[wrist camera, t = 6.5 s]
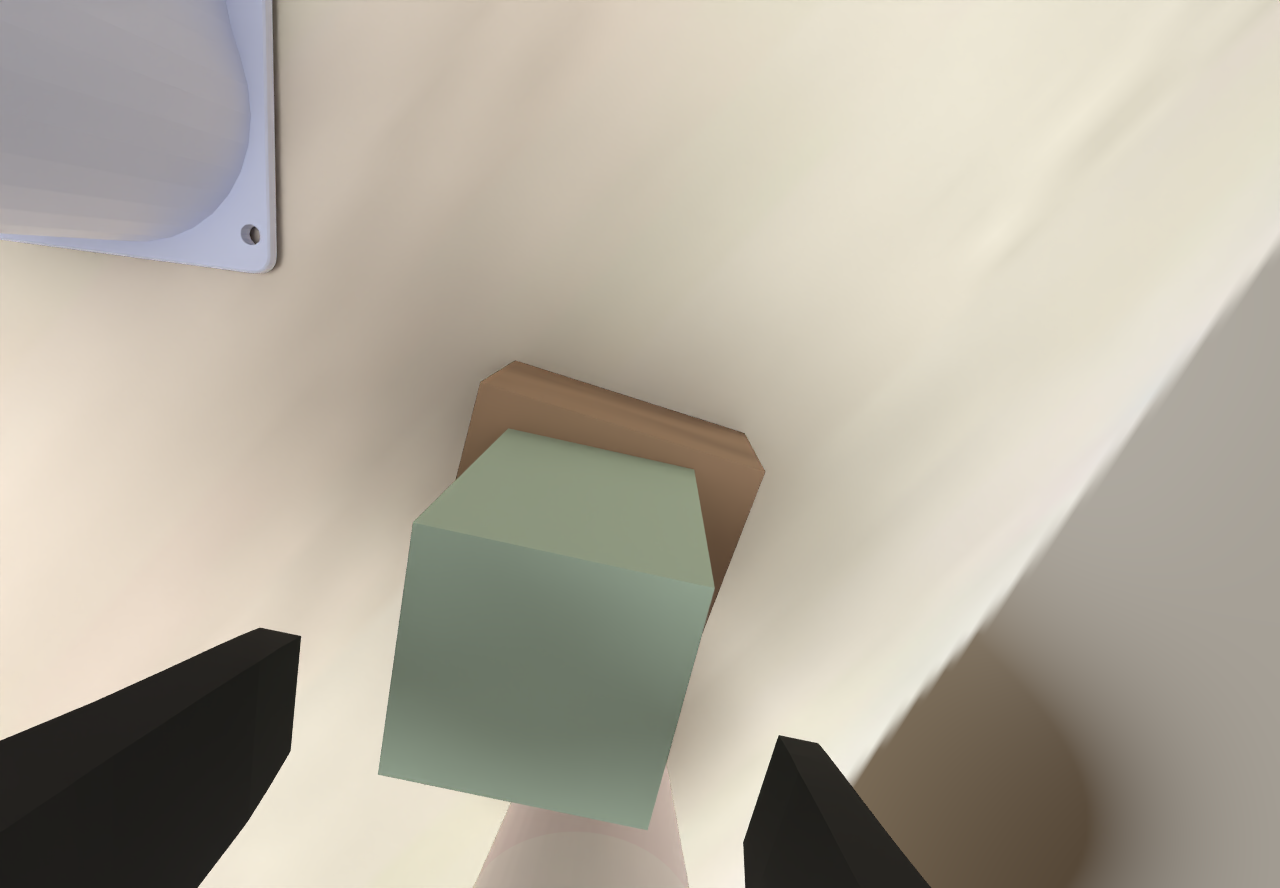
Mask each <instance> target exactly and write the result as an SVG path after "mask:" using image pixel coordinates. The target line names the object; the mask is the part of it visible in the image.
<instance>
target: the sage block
mask: <svg viewBox="0 0 1280 888" xmlns="http://www.w3.org/2000/svg"><path fill="white" fill-rule="evenodd" d="M714 589H715V587H714V581H713V575H712V569H711V564H710V558H709V552H708V546H707V541H706V535H705V529H704V523H703V518H702V512H701V506H700V500H699V495H698V489H697V483H696V477H695V472H694V469H690V468H685V467H681V466H676V465H672V464H667V463H663V462H658V461H654V460H649V459H645V458H640V457H636V456H631V455H627V454H622V453H618V452H613V451H609V450H604V449H600V448H595V447H591V446H586V445H582V444H577V443H573V442H568V441H564V440H559V439H555V438H550V437H545V436H541V435H536V434H532V433H527V432H523V431H518V430H514V429H509V428H508V429H507V430H506V431H505V432H504V433H503V434H502V435H501V436H500V437H499V438H498V439H497V440H496V441H495V442H494V443H493V444H492V445H491V446H490V447H489V448H488V449H487V450H486V451H485V452H484V453H483V454H482V455H481V456H480V457H479V458H478V459H477V460H476V461H475V462H474V463H473V464H472V465H471V466H470V467H469V468H468V469H467V470H466V471H465V472H464V473H463V474H462V475H461V476H460V477H459V478H458V479H457V480H456V481H454V482H453V483H452V484H451V485H450V486H449V487H448V488H447V489H446V490H445V491H444V492H443V493H442V494H441V495H440V496H439V497H438V498H437V499H436V500H435V501H434V502H433V503H432V504H431V505H430V506H429V507H428V508H427V509H426V510H425V511H424V512H423V513H422V514H421V515H420V516H419V517H418V518H417V519H416V520H415V521H414V522H413V526H412V533H411V541H410V548H409V555H408V562H407V569H406V577H405V584H404V591H403V598H402V605H401V613H400V620H399V627H398V634H397V641H396V648H395V656H394V663H393V670H392V677H391V684H390V692H389V699H388V706H387V713H386V720H385V728H384V735H383V742H382V749H381V756H380V764H379V771H378V775H383V776H388V777H393V778H397V779H402V780H407V781H412V782H417V783H421V784H426V785H431V786H436V787H441V788H446V789H450V790H455V791H460V792H465V793H470V794H475V795H479V796H484V797H489V798H494V799H499V800H503V801H508V802H513V803H518V804H523V805H528V806H532V807H537V808H542V809H547V810H552V811H557V812H561V813H566V814H571V815H576V816H581V817H585V818H590V819H595V820H600V821H605V822H610V823H614V824H619V825H624V826H629V827H634V828H638V829H643V830H648V827H649V823H650V820H651V816H652V812H653V809H654V805H655V802H656V798H657V794H658V791H659V787H660V784H661V780H662V776H663V773H664V769H665V766H666V762H667V758H668V755H669V751H670V748H671V744H672V740H673V737H674V733H675V730H676V726H677V722H678V719H679V715H680V712H681V708H682V704H683V701H684V697H685V694H686V690H687V686H688V683H689V679H690V676H691V672H692V668H693V665H694V661H695V658H696V654H697V650H698V647H699V643H700V640H701V636H702V632H703V629H704V625H705V622H706V618H707V614H708V611H709V607H710V604H711V600H712V596H713V593H714Z"/></svg>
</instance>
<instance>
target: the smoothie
mask: <svg viewBox="0 0 1280 888" xmlns="http://www.w3.org/2000/svg"><path fill="white" fill-rule="evenodd" d="M473 888H689V884H688V879H687V873H686V868H685V862H684V857H683V851H682V846H681V840H680V835H679V829H678V824H677V818H676V813H675V807H674V802H673V796H672V791H671V785H670V780H669V774H668V769H667V763H666V766H665V769H664V773H663V776H662V780H661V784H660V787H659V791H658V794H657V798H656V802H655V805H654V809H653V812H652V816H651V820H650V823H649V827H648V830H643V829H638V828H634V827H629V826H624V825H619V824H614V823H610V822H605V821H600V820H595V819H590V818H585V817H581V816H576V815H571V814H566V813H561V812H557V811H552V810H547V809H542V808H537V807H532V806H528V805H523V804H518V803H513V802H511V803H510V806H509V808H508V810H507V812H506V815H505V817H504V819H503V821H502V824H501V826H500V828H499V830H498V833H497V835H496V837H495V840H494V842H493V844H492V846H491V849H490V851H489V853H488V855H487V858H486V860H485V862H484V864H483V867H482V869H481V871H480V874H479V876H478V878H477V880H476V882H475V884H474V886H473Z"/></svg>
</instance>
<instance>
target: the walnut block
mask: <svg viewBox="0 0 1280 888" xmlns="http://www.w3.org/2000/svg"><path fill="white" fill-rule="evenodd" d="M508 428H509V429H514V430H518V431H523V432H527V433H532V434H536V435H541V436H545V437H550V438H555V439H559V440H564V441H568V442H573V443H577V444H582V445H586V446H591V447H595V448H600V449H604V450H609V451H613V452H618V453H622V454H627V455H631V456H636V457H640V458H645V459H649V460H654V461H658V462H663V463H667V464H672V465H676V466H681V467H685V468H690V469H694V472H695V477H696V483H697V489H698V495H699V500H700V506H701V512H702V518H703V523H704V529H705V535H706V541H707V546H708V552H709V558H710V564H711V569H712V575H713V581H714V587H715V589H714V593H713V596H712V600H711V604H710V607H709V611H708V614H707V618H706V622H705V625H706V623H707V620H708V618H709V615H710V613H711V610H712V607H713V605H714V602H715V600H716V597H717V594H718V592H719V589H720V587H721V584H722V582H723V579H724V576H725V574H726V571H727V569H728V566H729V564H730V561H731V558H732V556H733V553H734V551H735V548H736V546H737V543H738V540H739V538H740V535H741V533H742V530H743V528H744V525H745V522H746V520H747V517H748V515H749V512H750V510H751V507H752V504H753V502H754V499H755V497H756V494H757V491H758V489H759V486H760V484H761V481H762V479H763V476H764V473H765V470H764V469H763V467H762V465H761V463H760V461H759V459H758V457H757V456H756V454H755V452H754V450H753V448H752V446H751V445H750V443H749V441H748V439H747V437H746V435H745V433H742V432H739V431H736V430H732V429H729V428H726V427H723V426H720V425H717V424H713V423H710V422H707V421H704V420H701V419H698V418H695V417H691V416H688V415H685V414H682V413H679V412H676V411H673V410H669V409H666V408H663V407H660V406H657V405H654V404H651V403H647V402H644V401H641V400H638V399H635V398H632V397H628V396H625V395H622V394H619V393H616V392H613V391H610V390H606V389H603V388H600V387H597V386H594V385H591V384H588V383H584V382H581V381H578V380H575V379H572V378H569V377H565V376H562V375H559V374H556V373H553V372H550V371H547V370H543V369H540V368H537V367H534V366H531V365H528V364H525V363H521V362H518V361H514V362H512V363H510V364H509V365H507V366H505V367H504V368H502V369H501V370H499V371H497V372H496V373H494V374H493V375H491V376H489V377H488V378H486V379H485V380H483V381H481V382H480V385H479V389H478V393H477V397H476V401H475V405H474V409H473V413H472V417H471V421H470V425H469V429H468V433H467V437H466V441H465V445H464V449H463V453H462V457H461V461H460V465H459V469H458V472H457V476H456V480H457V479H458V478H459V477H460V476H461V475H462V474H463V473H464V472H465V471H466V470H467V469H468V468H469V467H470V466H471V465H472V464H473V463H474V462H475V461H476V460H477V459H478V458H479V457H480V456H481V455H482V454H483V453H484V452H485V451H486V450H487V449H488V448H489V447H490V446H491V445H492V444H493V443H494V442H495V441H496V440H497V439H498V438H499V437H500V436H501V435H502V434H503V433H504V432H505V431H506V430H507V429H508ZM456 480H455V481H456ZM705 625H704V628H705ZM703 631H704V629H703ZM702 633H703V632H702Z"/></svg>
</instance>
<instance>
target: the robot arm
mask: <svg viewBox="0 0 1280 888" xmlns="http://www.w3.org/2000/svg"><path fill="white" fill-rule="evenodd" d="M254 226H255V227H256V228H257V229H258V230H259V233H260V240H259V242H258V243H257V244H254V243H253V241H252V240H251V238H250V230H251V229H252V228H253V227H254ZM0 240H7V241H15V242H22V243H30V244H37V245H45V246H52V247H60V248H67V249H75V250H82V251H90V252H97V253H105V254H112V255H120V256H127V257H135V258H142V259H150V260H157V261H165V262H172V263H180V264H187V265H195V266H202V267H210V268H217V269H225V270H232V271H240V272H247V273H266V272H268V271H270V270H272V268H273V267H274V266H275V264H276V259H277V237H276V182H275V128H274V73H273V19H272V0H0ZM300 642H301V636H298V635H293V634H288V633H283V632H279V631H274V630H269V629H264V628H258V629H255V630H253V631H250V632H248V633H245V634H243V635H240V636H238V637H236V638H234V639H231V640H229V641H227V642H225V643H222V644H220V645H218V646H216V647H214V648H211V649H209V650H207V651H205V652H203V653H201V654H198V655H196V656H194V657H192V658H190V659H188V660H185V661H183V662H181V663H179V664H177V665H175V666H172V667H170V668H168V669H166V670H164V671H161V672H159V673H157V674H155V675H153V676H150V677H148V678H146V679H144V680H142V681H139V682H137V683H135V684H133V685H130V686H128V687H126V688H124V689H122V690H119V691H117V692H115V693H113V694H111V695H108V696H106V697H104V698H102V699H99V700H97V701H95V702H93V703H90V704H88V705H85V706H83V707H81V708H78V709H76V710H73V711H71V712H69V713H66V714H64V715H61V716H59V717H56V718H54V719H52V720H49V721H47V722H44V723H42V724H40V725H37V726H35V727H32V728H30V729H28V730H25V731H23V732H20V733H18V734H16V735H13V736H11V737H8V738H6V739H3V740H1V741H0V888H198V886H199V885H200V884H201V882H202V881H203V880H204V879H205V877H206V876H207V875H208V873H209V872H210V871H211V869H212V868H213V867H214V865H215V864H216V863H217V861H218V860H219V859H220V858H221V856H222V855H223V854H224V852H225V851H226V850H227V848H228V847H229V846H230V844H231V843H232V842H233V840H234V839H235V838H236V836H237V835H238V834H239V832H240V831H241V830H242V828H243V827H244V826H245V824H246V823H247V822H248V820H249V819H250V817H251V816H252V814H253V812H254V811H255V809H256V808H257V806H258V804H259V803H260V801H261V800H262V798H263V796H264V795H265V793H266V792H267V790H268V788H269V787H270V785H271V783H272V782H273V780H274V778H275V777H276V775H277V773H278V771H279V770H280V768H281V766H282V765H283V763H284V761H285V760H286V758H287V756H288V755H289V753H290V751H291V740H292V729H293V718H294V707H295V696H296V685H297V675H298V664H299V653H300ZM743 847H744V869H745V888H931V887H930V886H929V885H928V883H927V882H926V881H925V880H924V879H923V877H922V876H921V875H920V874H919V872H918V871H917V870H916V869H915V867H914V866H913V865H912V864H911V862H910V861H909V860H908V859H907V857H906V856H905V855H904V854H903V852H902V851H901V850H900V848H899V847H898V846H897V845H896V843H895V842H894V841H893V840H892V838H891V837H890V836H889V835H888V833H887V832H886V831H885V829H884V828H883V827H882V826H881V824H880V823H879V821H878V820H877V819H876V818H875V816H874V815H873V814H872V812H871V811H870V810H869V808H868V807H867V806H866V804H865V803H864V802H863V800H862V799H861V798H860V797H859V795H858V794H857V793H856V791H855V790H854V789H853V787H852V786H851V785H850V783H849V782H848V781H847V779H846V778H845V777H844V775H843V774H842V773H841V771H840V770H839V769H838V768H837V766H836V765H835V764H834V762H833V761H832V760H831V759H830V757H829V756H828V755H827V753H826V752H825V751H824V750H823V749H822V747H821V746H820V745H819V744H818V743H814V742H809V741H804V740H799V739H795V738H790V737H785V736H780V735H779V736H778V739H777V742H776V745H775V748H774V751H773V754H772V757H771V760H770V763H769V766H768V769H767V772H766V775H765V778H764V781H763V784H762V787H761V790H760V793H759V796H758V800H757V803H756V806H755V809H754V812H753V815H752V818H751V821H750V824H749V827H748V830H747V833H746V836H745V839H744V842H743Z"/></svg>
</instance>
